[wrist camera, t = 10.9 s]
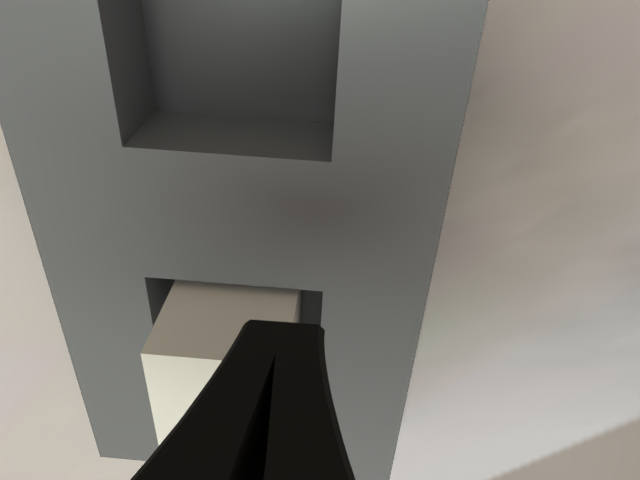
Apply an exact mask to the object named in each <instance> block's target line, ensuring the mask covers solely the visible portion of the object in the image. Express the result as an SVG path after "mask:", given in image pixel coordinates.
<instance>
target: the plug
mask: <svg viewBox="0 0 640 480" xmlns="http://www.w3.org/2000/svg"><path fill="white" fill-rule="evenodd" d="M300 310H301V290H299V289H286V288H274V287H262V286H249V285H237V284H224V283H212V282H200V281H187V280H175V281H174V284H173V286H172V288H171V290H170V292H169V294H168V296H167V298H166V301H165V303H164V305H163V307H162V309H161V311H160V313H159V315H158V317H157V320H156V322H155V324H154V326H153V328H152V330H151V332H150V334H149V337H148V339H147V341H146V343H145V345H144V347H143V349H142V351H141V353H140V354H141V359H142V364H143V369H144V374H145V379H146V384H147V389H148V394H149V399H150V404H151V410H152V415H153V420H154V425H155V430H156V435H157V440H158V445H160V444H161V443H162V441H163V440H164V439H165V438H166V436H167V435H168V434H169V433H170V432H171V430H172V429H173V428H174V427H175V425H176V424H177V423H178V422H179V420H180V419H181V418H182V416H183V415H184V414H185V412H186V411H187V410H188V408H189V407H190V406H191V404H192V403H193V401H194V400H195V399H196V397H197V396H198V395H199V393H200V392H201V390H202V389H203V388H204V386H205V385H206V384H207V382H208V381H209V379H210V378H211V376H212V375H213V373H214V372H215V370H216V369H217V367H218V366H219V364H220V363H221V361H222V360H223V358H224V357H225V355H226V354H227V352H228V351H229V349H230V347H231V346H232V344H233V342H234V341H235V339H236V337H237V336H238V334H239V332H240V330H241V329H242V327H243V325H244V324H245V323H246V322H247V321H249V320H250V319H251V320H265V321H279V322H293V323H300Z"/></svg>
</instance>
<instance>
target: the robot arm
mask: <svg viewBox="0 0 640 480" xmlns="http://www.w3.org/2000/svg"><path fill="white" fill-rule="evenodd" d="M324 338H325V330H324V329H323V328H322V327H321V326H320V325H319V324H306V323H293V322H279V321H265V320H251V319H250V320H249V321H247V322H246V323H245V324H244V325H243V327H242V329H241V330H240V332H239V334H238V336H237V337H236V339H235V341H234V342H233V344H232V346H231V347H230V349H229V351H228V352H227V354H226V355H225V357H224V358H223V360H222V361H221V363H220V364H219V366H218V367H217V369H216V370H215V372H214V373H213V375H212V376H211V378H210V379H209V381H208V382H207V384H206V385H205V386H204V388H203V389H202V390H201V392H200V393H199V395H198V396H197V397H196V399H195V400H194V401H193V403H192V404H191V406H190V407H189V408H188V410H187V411H186V412H185V414H184V415H183V416H182V418H181V419H180V420H179V422H178V423H177V424H176V425H175V427H174V428H173V429H172V430H171V432H170V433H169V434H168V435H167V436H166V438H165V439H164V440H163V441H162V443H161V444H160V445H159V446H158V448H157V449H156V450H155V451H154V452H153V454H152V455H151V456H150V457H149V459H148V460H147V461H146V462H145V463H144V465H143V466H142V467H141V468H140V469H139V470H138V472H137V473H136V474H135V475H134V476H133V477H132V478H131V480H355V477H354V474H353V471H352V467H351V464H350V461H349V458H348V455H347V452H346V448H345V445H344V442H343V438H342V434H341V430H340V427H339V423H338V419H337V415H336V411H335V407H334V403H333V399H332V394H331V390H330V384H329V379H328V373H327V367H326V359H325V346H324Z"/></svg>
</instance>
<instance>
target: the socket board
mask: <svg viewBox="0 0 640 480" xmlns="http://www.w3.org/2000/svg"><path fill="white" fill-rule="evenodd" d="M488 1H489V0H0V124H1V127H2V130H3V134H4V137H5V140H6V144H7V147H8V150H9V154H10V157H11V160H12V164H13V167H14V170H15V174H16V177H17V180H18V184H19V187H20V190H21V194H22V197H23V200H24V204H25V207H26V210H27V214H28V217H29V220H30V224H31V227H32V230H33V234H34V237H35V240H36V244H37V247H38V250H39V254H40V257H41V260H42V264H43V267H44V270H45V274H46V277H47V280H48V284H49V287H50V290H51V294H52V297H53V300H54V304H55V307H56V310H57V314H58V317H59V320H60V324H61V327H62V330H63V334H64V337H65V340H66V344H67V347H68V350H69V354H70V357H71V360H72V364H73V367H74V370H75V374H76V377H77V380H78V384H79V387H80V390H81V394H82V397H83V400H84V404H85V407H86V410H87V414H88V417H89V420H90V424H91V427H92V430H93V434H94V437H95V440H96V444H97V447H98V450H99V454H100V457H109V458H120V459H131V460H142V461H147V460H148V459H149V457H150V456H151V455H152V454H153V452H154V451H155V450H156V449H157V448H158V446H159V445H158V440H157V435H156V430H155V425H154V420H153V415H152V410H151V404H150V399H149V394H148V389H147V384H146V379H145V374H144V369H143V364H142V359H141V354H140V353H141V351H142V349H143V347H144V345H145V343H146V341H147V339H148V337H149V334H150V332H151V330H152V328H153V326H154V324H155V322H156V320H157V317H158V315H159V313H160V311H161V309H162V307H163V305H164V303H165V301H166V298H167V296H168V294H169V292H170V290H171V288H172V286H173V284H174V281H175V280H187V281H200V282H212V283H224V284H237V285H249V286H262V287H274V288H286V289H299V290H301V310H300V323H306V324H319V325H320V326H321V327H322V328H323V329H324V330H325V338H324V346H325V359H326V367H327V373H328V379H329V384H330V390H331V394H332V399H333V403H334V407H335V411H336V415H337V419H338V423H339V427H340V430H341V434H342V438H343V442H344V445H345V448H346V452H347V455H348V458H349V461H350V464H351V467H352V471H353V474H354V477H355V480H389V479H390V474H391V469H392V464H393V459H394V455H395V450H396V445H397V440H398V435H399V430H400V426H401V421H402V416H403V411H404V406H405V402H406V397H407V392H408V387H409V382H410V377H411V373H412V368H413V363H414V358H415V353H416V348H417V344H418V339H419V334H420V329H421V324H422V319H423V315H424V310H425V305H426V300H427V295H428V290H429V286H430V281H431V276H432V271H433V266H434V262H435V257H436V252H437V247H438V242H439V237H440V233H441V228H442V223H443V218H444V213H445V208H446V204H447V199H448V194H449V189H450V184H451V179H452V175H453V170H454V165H455V160H456V155H457V150H458V146H459V141H460V136H461V131H462V126H463V122H464V117H465V112H466V107H467V102H468V97H469V93H470V88H471V83H472V78H473V73H474V68H475V64H476V59H477V54H478V49H479V44H480V39H481V35H482V30H483V25H484V20H485V15H486V10H487V6H488Z"/></svg>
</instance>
